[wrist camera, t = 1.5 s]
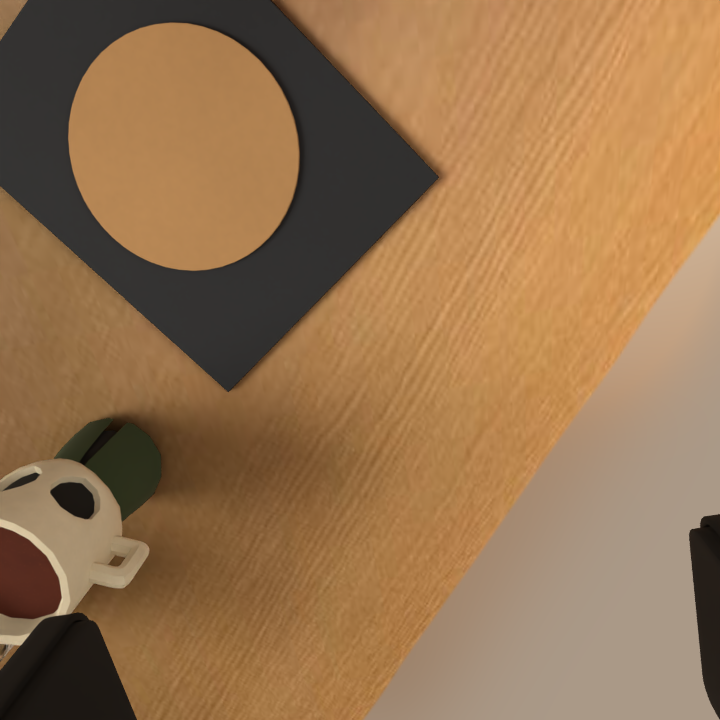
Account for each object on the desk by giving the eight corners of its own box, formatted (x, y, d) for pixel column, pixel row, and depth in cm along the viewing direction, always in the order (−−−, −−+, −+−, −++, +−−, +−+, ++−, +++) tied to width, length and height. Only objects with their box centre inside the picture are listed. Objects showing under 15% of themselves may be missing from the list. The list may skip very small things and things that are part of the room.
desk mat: (-57, 131, 36) (-65, 130, 35) (132, -146, 31) (126, -152, 30) (229, 390, 39) (226, 394, 39) (438, 177, 34) (439, 177, 34)
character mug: (207, 429, 40) (118, 547, 28) (192, 523, 42) (103, 671, 30) (43, 390, 40) (-119, 490, 28) (36, 486, 42) (-117, 618, 30)
